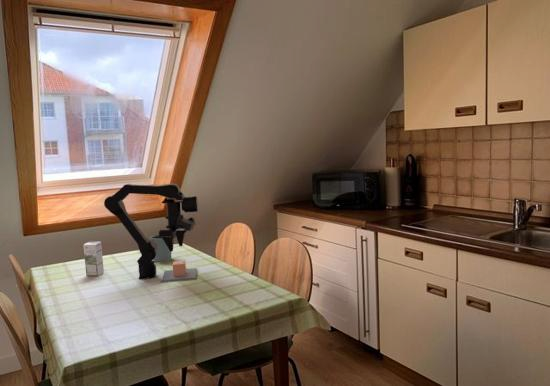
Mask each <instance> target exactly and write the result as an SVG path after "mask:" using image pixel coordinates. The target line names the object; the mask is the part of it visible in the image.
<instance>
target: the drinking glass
mask: <svg viewBox="0 0 550 386" xmlns="http://www.w3.org/2000/svg"><path fill="white" fill-rule="evenodd" d="M149 239H150V240H151V239H153V240H154V242H155V243H156V244H157V245H158V246H157V247H158V254H157V255H156V257H155V258H154V259H153V261H154V263H157V262H162V263H167V262H166V261H168V262H170V261H172V252H171V251H170V250H169V248H168V247H167V245H166V243H165V242H164V240H163V239H162V238H161V237H159V234H155V235H152V236H150V238H149Z"/></svg>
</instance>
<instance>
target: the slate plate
mask: <svg viewBox="0 0 550 386" xmlns="http://www.w3.org/2000/svg"><path fill="white" fill-rule="evenodd" d="M197 271H198V268H197V267H193V268H186V275H182V276H173V269H169V270H164V272H163V275H162V278H161V283H169V282H168V281H170V282H178V281H177V280H182V281H190V280H189V279H194V280H197V273H198V272H197Z"/></svg>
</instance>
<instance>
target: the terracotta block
mask: <svg viewBox="0 0 550 386" xmlns="http://www.w3.org/2000/svg"><path fill="white" fill-rule="evenodd" d="M186 265H187V264H186V260H178V261H173V262H172V270H173V276H182V275H186V269H187V268H186V267H187V266H186Z"/></svg>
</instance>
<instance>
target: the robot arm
mask: <svg viewBox="0 0 550 386" xmlns="http://www.w3.org/2000/svg"><path fill="white" fill-rule="evenodd" d="M130 194H131V195H133V194H134V195H135V194H137V195H157V196H160V197H165V198H164V199H163V200H162V201H161V204H166V216H165V219H167V224H166V225H165V226H166V227H164V228H162V229H160V230H159V231H158V235H159V237H161V238H162V239H163V240H164V242H165V243H166V245H167V247H168V248H169V250H170V251H171V253H172V252H174V243H175V242H174V240H175V238H176V240H177V244H178V245H179V247H183V244H184V240H185V235H186V233H187V232H191V230H193V229H194V227H195V225H196V221H195V218H194V217H189V218H184V214H182V212H181V211H183V212H184V213H197V212H199V202H198V195H193V196H185V195H184V194H183V192H182V191H181V187H180V185H178V184H177V183H166V184H160V185H154V184H152V185H151V184H133V183H126V184H124V185H122V187H121V188H120V189H119V190H117V192H115V193H114V194H111V195H109V196H107V197H106V198H105V199H104V202H103V205H104V206H103V207H105V209H107V211H109V213H110V214H112V215H114V216H115V217H116V218H118V220H119V221H120V223H121V224H122V225H123V227H124V228H125V230H126V231H127V232H128V234H129V235H130V236H131V237H132V239H133V240H134V241H135V243H137V246H138V247H137V248H138V249H139V253H140V254H141V256H140V257H139V258H138V259H137V264H138V265H137V266H138V276H139V277H138V279H139V280H141V279H142V280H143V279H153V278H155V277H156V276H157V265H156V263H155V262H154V261H153V259H154V258H155V257H156V255H157V254H158V247H157V246H158V245H157V244H156V243H155V242H154V240H153V239H151V238H149V239H148V238H147V237H146V236H145V234H144V233H143V231H142V230H141V228H139V226H138V225H137V223H136V222H135V220H134V219H133V218H132V217H131V215H130V214H129V213H128V211H127V209H126V206H125V203H124V200H125V199H126V198H127V197H128V196H129V195H130Z"/></svg>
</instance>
